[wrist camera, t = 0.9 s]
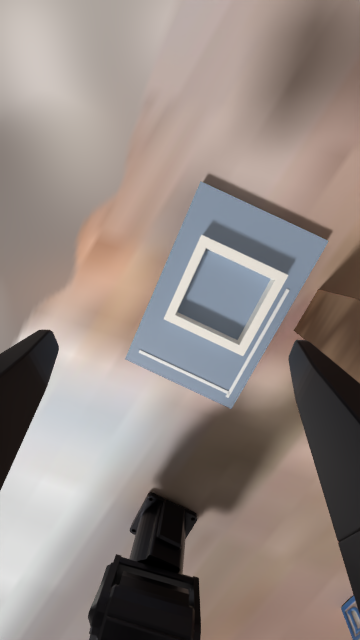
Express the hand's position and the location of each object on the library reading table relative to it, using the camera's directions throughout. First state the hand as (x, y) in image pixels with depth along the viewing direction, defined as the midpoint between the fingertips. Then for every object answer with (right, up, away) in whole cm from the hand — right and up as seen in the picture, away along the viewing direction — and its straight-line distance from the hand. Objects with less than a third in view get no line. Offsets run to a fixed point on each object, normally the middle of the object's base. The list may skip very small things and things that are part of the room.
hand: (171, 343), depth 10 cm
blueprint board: (+4, +2, +15) cm, 16 cm away
